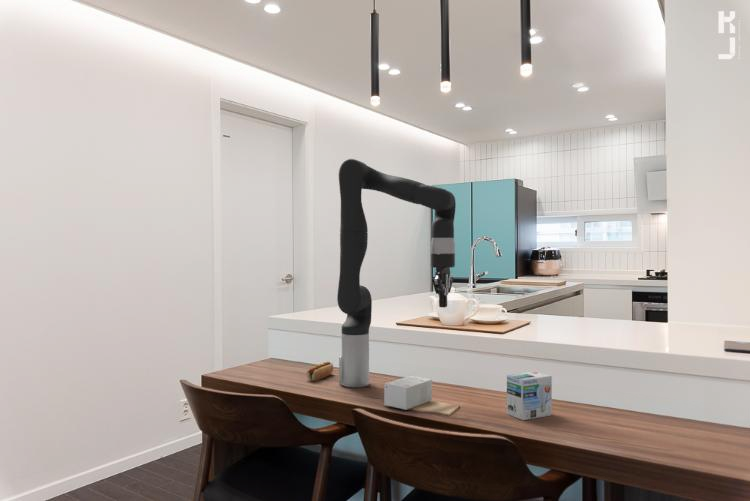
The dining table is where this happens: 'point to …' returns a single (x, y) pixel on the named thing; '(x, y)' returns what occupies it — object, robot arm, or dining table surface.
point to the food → (320, 371)
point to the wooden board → (435, 408)
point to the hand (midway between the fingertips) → (443, 307)
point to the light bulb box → (529, 395)
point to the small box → (407, 392)
